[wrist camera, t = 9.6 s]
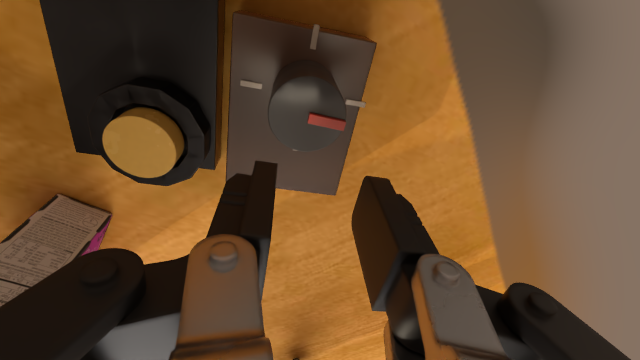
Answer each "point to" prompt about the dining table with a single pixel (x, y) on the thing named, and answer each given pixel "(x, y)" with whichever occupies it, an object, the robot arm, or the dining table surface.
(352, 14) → the dining table surface
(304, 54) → the dimmer panel
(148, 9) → the lamp base
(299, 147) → the dimmer knob
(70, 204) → the candy bar box
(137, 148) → the button
